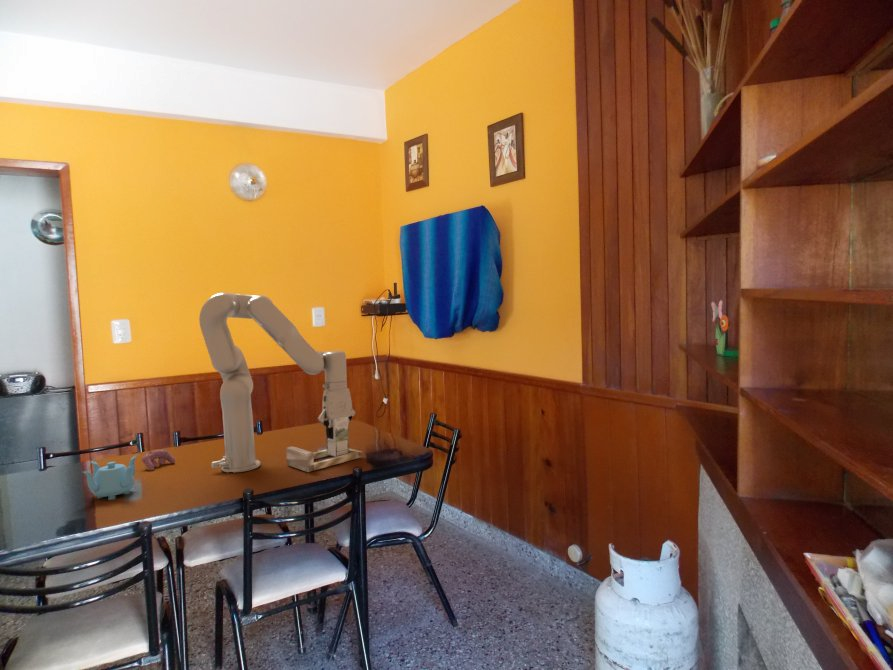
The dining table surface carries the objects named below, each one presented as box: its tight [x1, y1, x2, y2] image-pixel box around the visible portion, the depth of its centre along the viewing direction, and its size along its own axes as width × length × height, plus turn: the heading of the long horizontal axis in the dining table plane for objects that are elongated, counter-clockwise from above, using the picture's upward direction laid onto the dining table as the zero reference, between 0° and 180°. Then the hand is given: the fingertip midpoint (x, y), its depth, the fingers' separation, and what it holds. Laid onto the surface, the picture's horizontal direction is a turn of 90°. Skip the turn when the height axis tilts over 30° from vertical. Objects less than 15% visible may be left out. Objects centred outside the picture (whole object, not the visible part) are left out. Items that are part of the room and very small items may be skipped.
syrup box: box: [325, 417, 350, 457], centre depth 203 cm, size 6×6×14 cm
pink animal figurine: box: [141, 448, 176, 471], centre depth 202 cm, size 10×5×7 cm, turn 152°
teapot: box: [82, 454, 138, 501], centre depth 172 cm, size 13×13×10 cm
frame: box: [285, 446, 363, 473], centre depth 199 cm, size 22×13×6 cm, turn 135°
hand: (337, 436), depth 203 cm, fingers closed on syrup box, 5 cm apart
